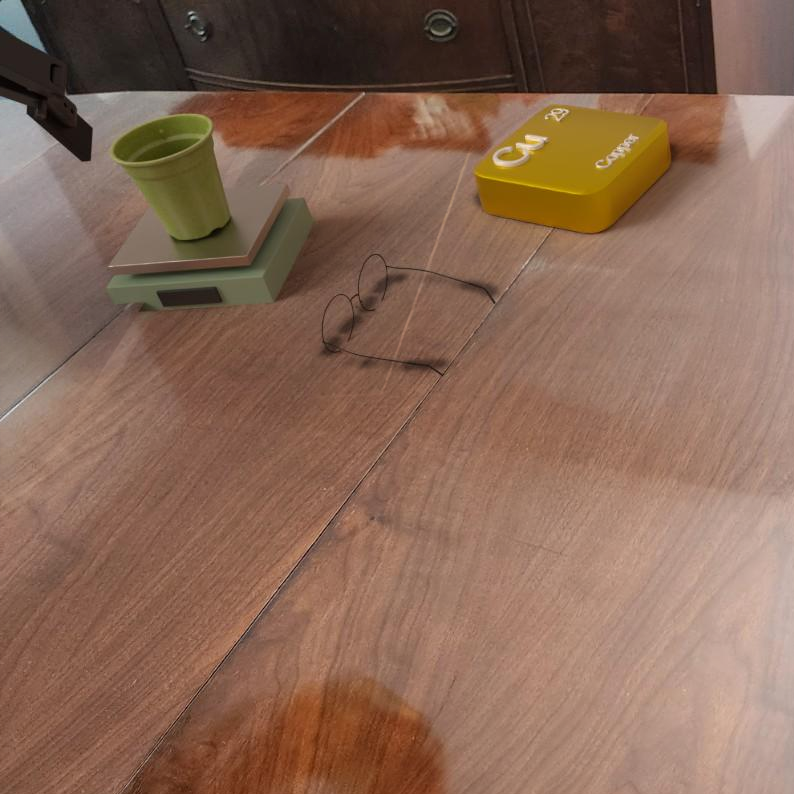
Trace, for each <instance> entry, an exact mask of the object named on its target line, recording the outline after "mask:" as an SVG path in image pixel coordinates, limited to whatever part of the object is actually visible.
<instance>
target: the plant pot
mask: <svg viewBox="0 0 794 794" xmlns="http://www.w3.org/2000/svg"><path fill="white" fill-rule="evenodd" d="M213 134H214V123H213V121H212V119H211V118H209V117H208V116H206V115H203V114H199V113H177V114H170V115H166V116H165V115H164V116H161V117H158V118H154V119H151V120H149V121H146V122H144V123H141V124H139V125H136V126H134V127H133V128H131V129H129V130H126V132H124V133H123V134H121V135H120V136H119V137H118V138H117V139H116V140H115V141H114V142H113V143H112V144H111V146H110V148H109V156H110V157H111V159H112V160H113V162H115V163H116V164H118V165H120V166H121V168H122V169H123V170H124V172H125V174H127V175H128V176H130V177H131V178H132V180H133V182H134V183H135V184H136V186H137V188H138V189H139V191H140V192H141V194H142V195H143V197H144V199H145V200H146V201H147V204H149V207H150V206H151V208H152V209H153V211H154V212H155V214H156V215H157V217H158V218H159V220H160V221H161V223H162V225H163V226H164V228H165V229H166V231H167V232H168V234H169V235H172V236H174V237H175V238H177V239H179V240H191V239H197V238H202V237H205V236H207V235H209V234H210V233H211V232H212V230H214V229H215V228H222V227H223V226H224V225H225V224H226V223H227V222H228V221H229V219H230V211H229V207H228V203H227V199H226V196H225V192H224V189H225V187H224V185H223V181H222V178H221V174H220V170H219V166H218V161H217V159H216V158H217V157H216V154H215V150H214V148H215V142H214V137H213Z"/></svg>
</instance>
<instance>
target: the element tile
mask: <svg viewBox="0 0 794 794" xmlns="http://www.w3.org/2000/svg"><path fill="white" fill-rule="evenodd" d="M670 145H671V143H670V135H669V125H668V123H667V122H666V120H664V119H662V118H658V117H654V116H647V115H639V114H633V113H624V112H619V111H618V112H617V111H611V110H603V109H597V108H590V107H582V106H574V105H568V104H555V103H554V104H549V105H547V106H545V107H543V108H542V109H541V110H538V111H537V112H536V113H535V114H534V115H533V116H532V117H531V118H529V119H528V120H527V121H526V122H525V123H523V124H522V125H521V126H520V127H519V128H517V129H516V130H515V131H514V132H513V133H511V135H510V136H508V137H507V138H506V139H504V141H502V142H501V143H500V144H499V145H498V146H496V147H495V148H494V149H493V150H492V151H490V152H489V153H488V154H487V155H486V156H484V157H483V158H482V159H481V160H480V161H478V162H477V164H476V165H475V166H474V168H473V170H472V171H473V177H474V180H475V184H476V188H477V192H478V196H479V200H480V205H481V208H482V210H483V211H484V212H486V213H487V214H489V215H491V216H496V217H501V218H506V219H510V220H516V221H521V222H525V223H531V224H536V225H541V226H546V227H552V228H557V229H560V230H566V231H572V232H576V233H582V234H596V233H597V234H598V233H601V232H603V231H605V230H608V229H609V228H610V227H612V226H613V225H614V224H615V223H616V222H617V221H618V220H619V219H620V218H621V217H622V216H623V215H624V214H625V213H626V212H627V211H628V210H629V209H630V208H631V207H632V206H633V205H634V204H635V203H636V202H637V201H638V200H639V199H640V198H641V197H642V196H643V195H644V194H645V193H646V192H647V191H649V189H650V188H651V187H652V186H653V184H655V183H656V182H657V181H658V180H659V179H660V178H661V177H662V176H663V175H664V174H665V173H666V172H667V171H668V170H669V168H670V167H671V163H672V155H671V154H672V153H671V146H670Z"/></svg>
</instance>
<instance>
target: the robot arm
mask: <svg viewBox="0 0 794 794" xmlns="http://www.w3.org/2000/svg"><path fill="white" fill-rule="evenodd" d="M67 71H68V70H67V64H66V63H65V62H63V61H62V60H60V59H59V58H56V57H54V56H53V55H51V54H49V53H47V52H45V51H43V50H42V49H39V48H38V47H35V46H34V45H31V44H30V43H28V42H26V41H24V40H22V39H20V38H18V37H17V36H14V35H13V34H11V33H9V32H7V31H5V30H3V29H1V28H0V97H1V98H4V99H7V100H10V101H13V102H16V103H19V104H22V105H24V106H26V113H25V114H26V115H27V116H28V117H30V118H31V119H32V120H33V121H34V122H35V123H36V124H38V125H39V126H40V127H41V128H42V129H43V130H44V131H46V132H47V133H48V134H49V135H50V136H51V137H53V138H54V139H55V140H56V142H58V143H60V145H62V146H63V147H64V148H65V149H67V151H69V152H70V153H71V154H72V155H73V156H74V157H75V158H77V159H78V160H79V161H80V162H82V163H84V162H91V161H92V151H93V150H92V149H93V134H94V127H92V125H91V124H89V122H87V121H86V120H85V119H84V118H83V117H82V116H81V115H80V114H79V113H78V108H77V105H76V104H75V103H74V102H73V101H72V100H71V99H70V98H69V97H67V95H66V85H67Z"/></svg>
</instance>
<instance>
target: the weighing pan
mask: <svg viewBox="0 0 794 794" xmlns="http://www.w3.org/2000/svg"><path fill="white" fill-rule="evenodd" d="M224 192H225V196H226V199H227V203H228V207H229V211H230V219H229V221H228V222H227V223H226V224H225V225H224V226H223V227H222V228H215V229H214V230H212V232H211V233H210V234H209V235H207V236H205V237H202V238H197V239H191V240H179V239H177V238H175V237H174V236H172V235H169V234H168V232H167V231H166V229H165V228H164V226H163V225H162V223H161V221H160V220H159V218H158V217H157V215H156V214H155V212H154V211H153V209H152V208H151V206H150V205H149V206H148V208H147V209H146V210H145V212H144V214H143V215H142V216H141V218H140V219H139V221H138V223H137V224H136V225H135V226H134V228H133V229H132V231H131V232H130V234H129V235H128V237H127V238H126V240H125V241H124V243H123V244H122V246H121V247H120V248H119V250H118V252H116V254H115V255H114V257H113V258H112V260H110V261H111V262H110V263H109V265H108V266H107V268H108V271H110V273H111V275H112V276H113V277H114V275H127V274H140V273H153V272H166V271H179V270H193V269H206V268H219V267H232V266H245V265H251V264H252V262H253V260H254V258H255V256H256V254H257V253H258V251H259V249H260V247H261V245H262V243H263V242H264V240H265V238H266V236H267V234H268V232H269V231H270V229H271V227H272V225H273V223H274V221H275V220H276V218H277V216H278V214H279V212H280V210H281V209H282V207H283V205H284V203H285V201H286V199H289V196H290V194H291V189H290V187H289V184H288V183H287V182H285V183H273V184H263V185H250V186H240V187H238V186H237V187H229V188H224Z"/></svg>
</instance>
